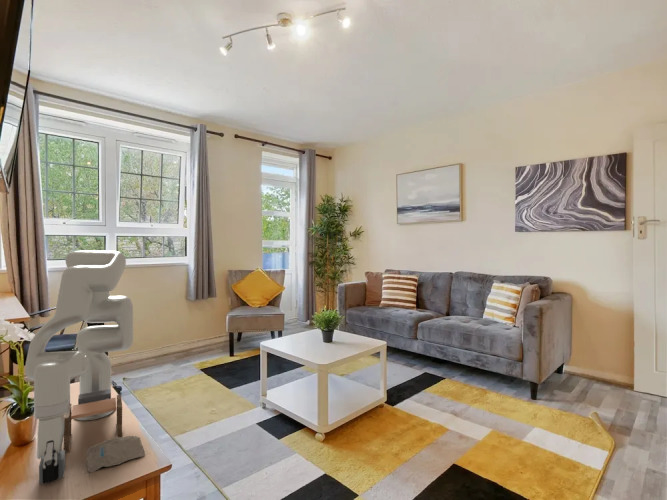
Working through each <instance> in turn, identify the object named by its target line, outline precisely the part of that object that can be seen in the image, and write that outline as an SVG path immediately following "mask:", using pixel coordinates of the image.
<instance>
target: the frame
mask: <svg viewBox="0 0 667 500" xmlns="http://www.w3.org/2000/svg"><path fill="white" fill-rule="evenodd" d="M71 413H72V403H70V410H69V411H68V412H67V413H65V426H64V437H63V449H62V450H65V454H67V453H70V452H71V445H72V438H73V433H72V420H71ZM115 431H116V432H115V433H116V437H124V435H123V434H124V433H123V401H122V394H116V424H115Z"/></svg>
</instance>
